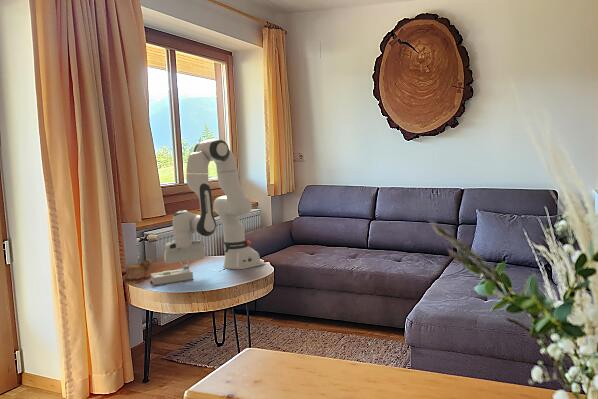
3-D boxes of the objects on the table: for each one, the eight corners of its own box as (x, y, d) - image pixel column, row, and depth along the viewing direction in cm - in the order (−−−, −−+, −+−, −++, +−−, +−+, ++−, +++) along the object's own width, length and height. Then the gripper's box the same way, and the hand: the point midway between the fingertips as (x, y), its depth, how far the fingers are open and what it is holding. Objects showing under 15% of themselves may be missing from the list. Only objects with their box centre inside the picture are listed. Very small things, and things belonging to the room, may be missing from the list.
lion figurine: (151, 274, 275) (150, 257, 274) (154, 276, 271) (152, 259, 270) (123, 278, 268) (121, 262, 267) (125, 280, 264) (123, 263, 263)
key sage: (169, 276, 259) (169, 270, 259) (171, 277, 257) (170, 271, 256) (163, 277, 258) (162, 271, 258) (164, 278, 255) (164, 272, 255)
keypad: (188, 275, 268) (187, 267, 267) (193, 280, 257) (192, 272, 256) (151, 280, 260) (150, 273, 260) (154, 286, 249) (154, 278, 249)
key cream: (160, 279, 258) (160, 274, 257) (161, 281, 255) (161, 275, 254) (154, 280, 256) (153, 275, 256) (155, 282, 253) (154, 276, 253)
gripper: (202, 238, 267) (204, 264, 268) (162, 244, 259) (164, 271, 260) (205, 240, 261) (207, 267, 263) (164, 246, 253) (167, 273, 254)
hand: (185, 269), depth 261 cm, fingers closed
